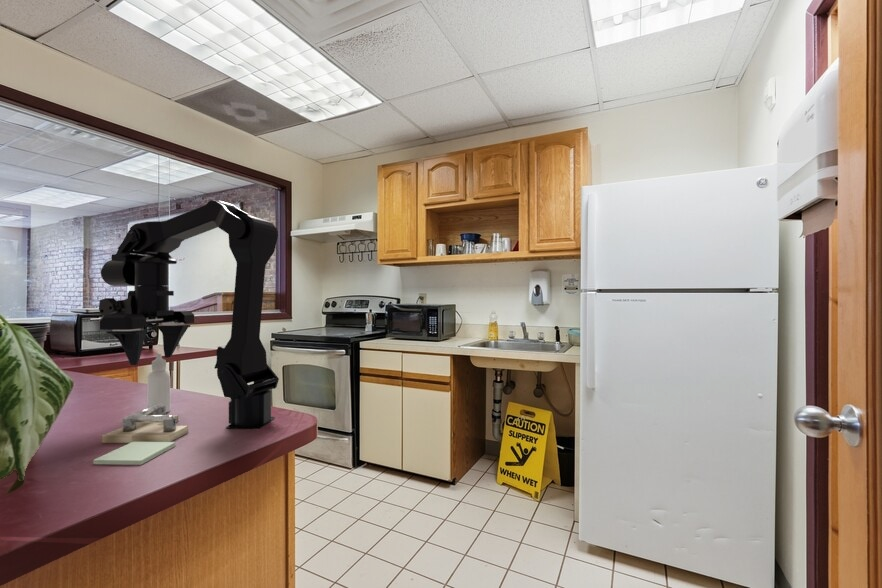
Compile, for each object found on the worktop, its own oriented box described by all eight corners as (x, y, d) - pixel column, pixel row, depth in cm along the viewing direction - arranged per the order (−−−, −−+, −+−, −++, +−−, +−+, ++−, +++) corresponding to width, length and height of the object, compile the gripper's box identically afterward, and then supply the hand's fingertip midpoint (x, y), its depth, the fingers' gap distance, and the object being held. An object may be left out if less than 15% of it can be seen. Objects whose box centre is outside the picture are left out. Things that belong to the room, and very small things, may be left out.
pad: (175, 445, 63) (175, 442, 63) (141, 464, 56) (141, 460, 56) (132, 445, 63) (132, 441, 63) (93, 464, 56) (93, 460, 56)
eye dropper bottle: (173, 406, 85) (173, 351, 85) (169, 413, 80) (169, 355, 80) (148, 409, 83) (148, 352, 83) (142, 416, 78) (143, 356, 78)
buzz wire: (209, 421, 75) (209, 401, 75) (167, 443, 64) (167, 420, 64) (152, 420, 75) (152, 401, 75) (102, 442, 64) (102, 419, 64)
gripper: (148, 287, 90) (148, 354, 90) (70, 284, 72) (70, 369, 71) (195, 286, 90) (195, 354, 90) (129, 284, 71) (129, 369, 71)
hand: (151, 361), depth 81 cm, fingers open, 9 cm apart
